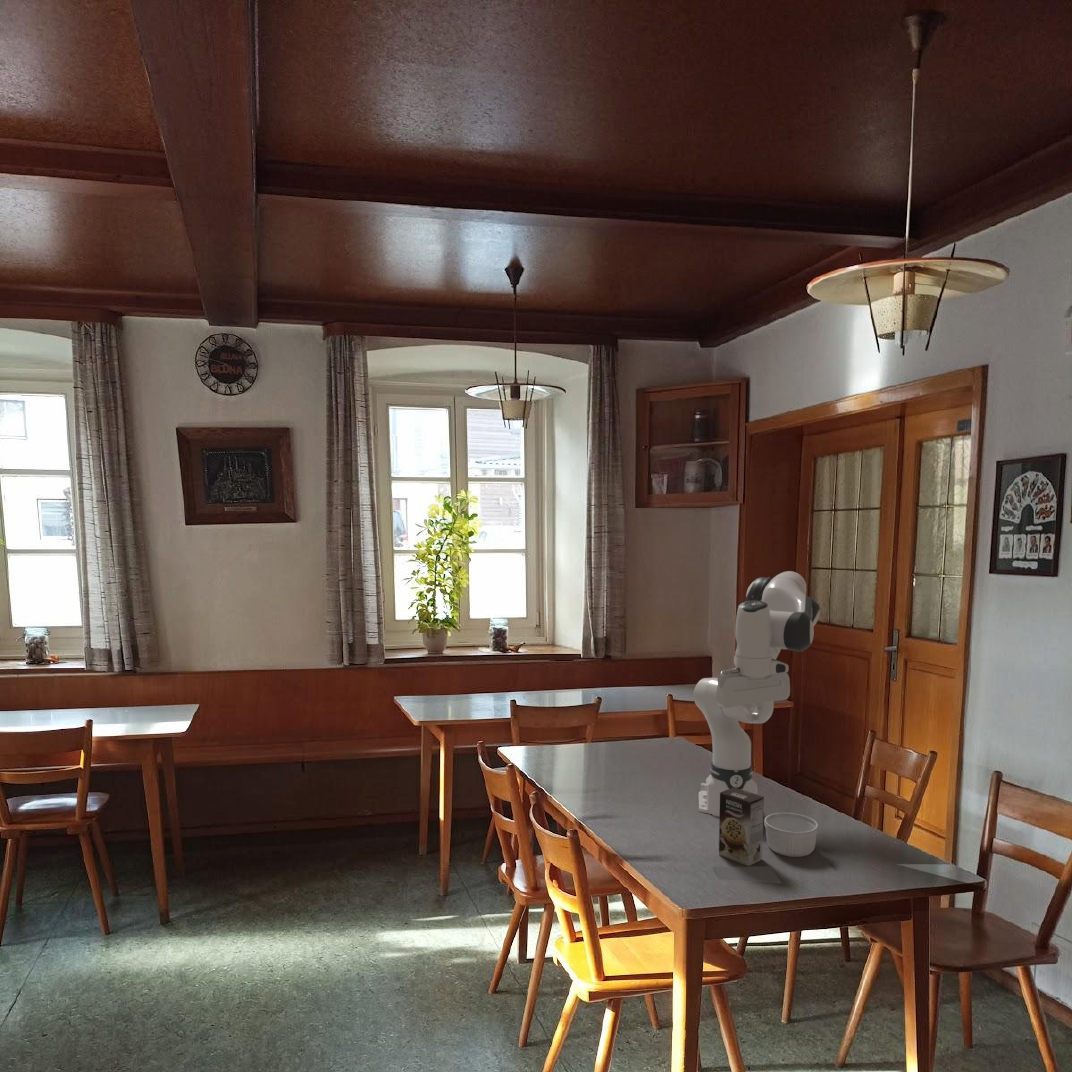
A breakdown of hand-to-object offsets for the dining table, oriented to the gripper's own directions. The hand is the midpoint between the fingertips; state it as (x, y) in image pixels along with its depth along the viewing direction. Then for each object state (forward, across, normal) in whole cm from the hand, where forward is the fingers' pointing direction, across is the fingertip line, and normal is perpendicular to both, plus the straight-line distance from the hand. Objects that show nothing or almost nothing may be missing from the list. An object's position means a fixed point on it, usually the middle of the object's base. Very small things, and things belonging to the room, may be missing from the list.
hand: (752, 720), depth 216 cm
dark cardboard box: (+34, -6, -3) cm, 34 cm away
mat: (+33, -11, -13) cm, 37 cm away
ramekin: (+34, +9, -3) cm, 35 cm away
